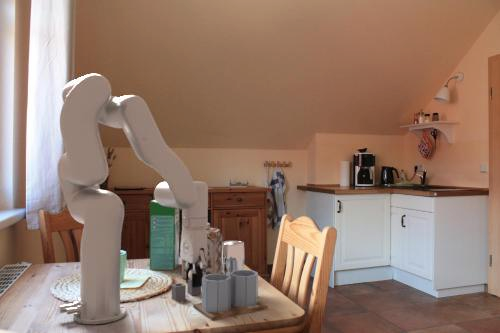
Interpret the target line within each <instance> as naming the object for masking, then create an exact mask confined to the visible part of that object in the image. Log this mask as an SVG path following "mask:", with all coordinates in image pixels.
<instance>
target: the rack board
mask: <svg viewBox="0 0 500 333" xmlns="http://www.w3.org/2000/svg"><path fill="white" fill-rule="evenodd" d="M192 305H193V306H192V307H193V309H195V310H197V311H198V312H199V313H201V314H202V315H204V317H207V318H208V319H209V320H211V321H215V320H221V319H226V318H231V317H235V316H240V315H243V314H249V313H254V312H258V311H264V310H267V309H268V305H266V304H265V303H263V302H261V301H259V300H258V302H257V304H256V305H254V306H249V307H238V306H234V305H232V304H231V308H230V309H229V310H228V311H224V312H219V313H213V312H206V311H204V310H203V309H202V302H199V303H193V304H192Z"/></svg>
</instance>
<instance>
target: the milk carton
mask: <svg viewBox="0 0 500 333" xmlns="http://www.w3.org/2000/svg"><path fill="white" fill-rule="evenodd" d="M149 202H150V203H149V205H150V206H149V210H150V211H149V270H153V271H155V270H156V271H157V270H158V271H159V270H160V271H162V270H163V271H164V270H165V271H168V270H169V271H174V270H176V269H177V267H178V265H179V264H180V209H179V208H171V207H165V206H162V205H160V204H159V203H158V202H157V201H156V200H155V199H153V200H150V201H149Z"/></svg>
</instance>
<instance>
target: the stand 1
mask: <svg viewBox="0 0 500 333" xmlns="http://www.w3.org/2000/svg"><path fill="white" fill-rule="evenodd" d="M186 288H187V285H186V284H185V283H183V282H180V283H178V282H177V283H173V284H172V283H171V299H172V300H173V301H175V302H179V301H184V300H186V298H187V297H186V296H187V295H186V293H187V292H186V290H187V289H186Z"/></svg>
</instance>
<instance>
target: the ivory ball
mask: <svg viewBox="0 0 500 333" xmlns="http://www.w3.org/2000/svg"><path fill="white" fill-rule="evenodd" d="M192 273H193V269H191V270H190V271H189V273H188V277H189V279H190V280H191V281H192Z"/></svg>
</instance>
